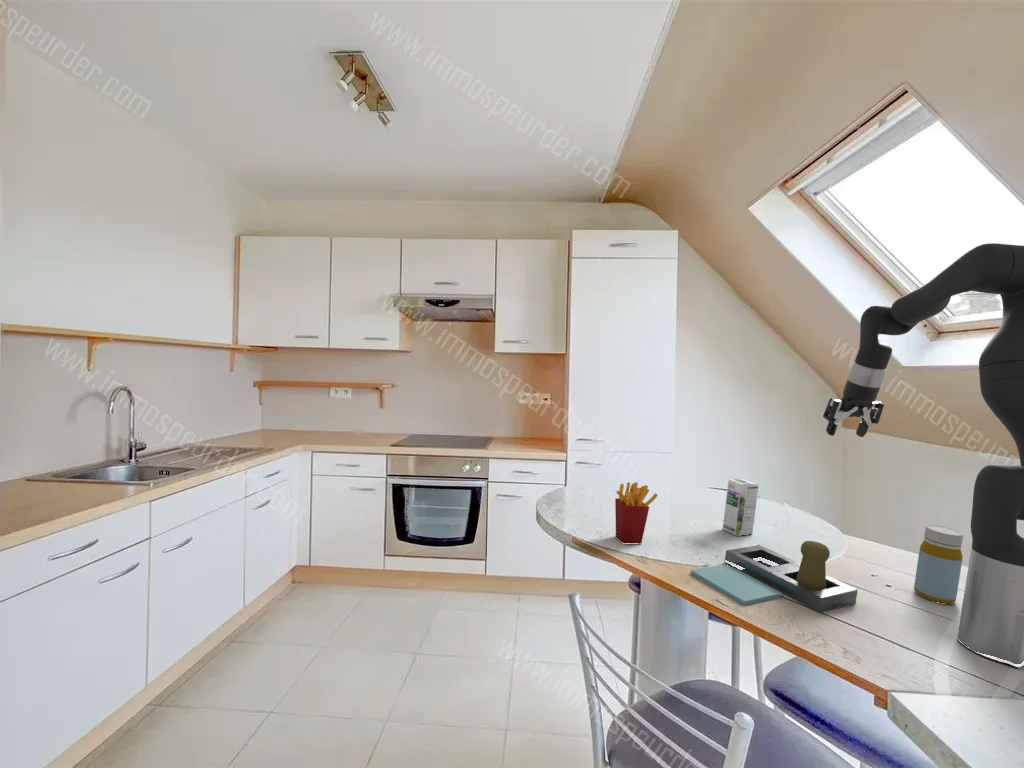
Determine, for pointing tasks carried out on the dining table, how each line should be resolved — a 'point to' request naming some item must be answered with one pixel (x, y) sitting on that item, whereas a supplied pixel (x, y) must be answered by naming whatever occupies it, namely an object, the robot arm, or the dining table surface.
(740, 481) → the syrup box
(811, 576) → the cork
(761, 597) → the board
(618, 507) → the french fries
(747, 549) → the two-slot holder tray
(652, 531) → the dining table surface
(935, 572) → the bottle
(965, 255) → the robot arm
